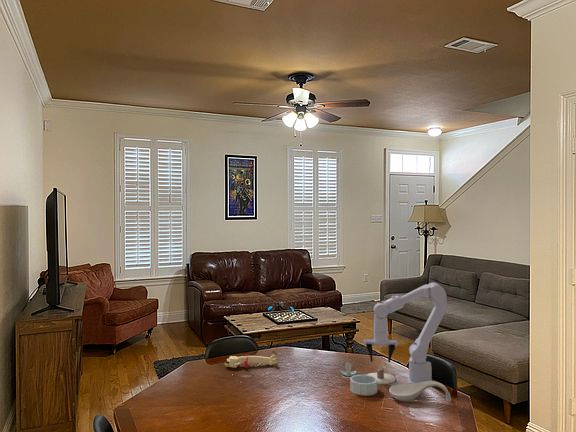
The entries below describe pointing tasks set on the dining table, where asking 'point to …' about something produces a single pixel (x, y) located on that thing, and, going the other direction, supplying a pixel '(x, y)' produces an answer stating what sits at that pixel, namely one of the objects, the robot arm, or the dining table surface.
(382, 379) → the lid
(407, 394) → the spoon rest
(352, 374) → the pacifier
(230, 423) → the dining table surface
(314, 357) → the dining table surface
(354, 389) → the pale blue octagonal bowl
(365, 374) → the mat
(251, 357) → the cream plush toy
